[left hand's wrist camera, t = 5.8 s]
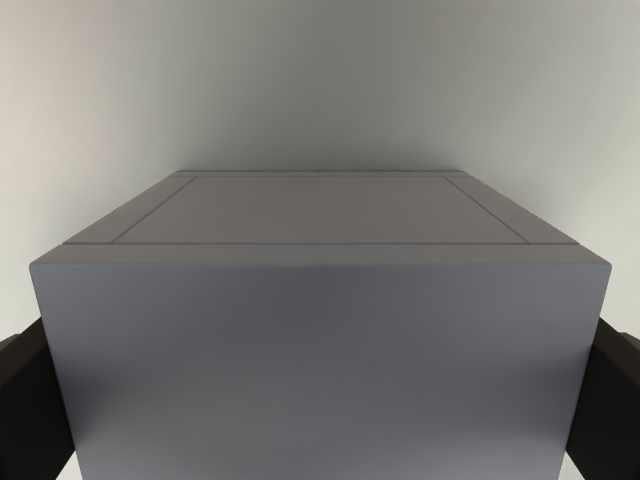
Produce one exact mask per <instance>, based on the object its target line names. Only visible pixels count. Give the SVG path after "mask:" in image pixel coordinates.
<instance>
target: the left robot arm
mask: <svg viewBox="0 0 640 480" xmlns="http://www.w3.org/2000/svg"><path fill="white" fill-rule="evenodd" d="M565 450H566V452H567V453H568V455H569V456H570V458H571V459H572V461H573V462H574V464H575V465H576V467H577V468H578V470H579V471H580V473H581V474H582V476H583V477H584V479H585V480H640V340H639V339H637V338H635V337H633V336H631V335H629V334H627V333H625V332H617V331H616V330H615V329H614V328H612V327H611V326H610V325H609V324H608V323H606V322H605V321H604V320H603V319H602V318H601V317H599V320H598V324H597V328H596V332H595V336H594V340H593V344H592V347H591V351H590V355H589V359H588V363H587V367H586V371H585V375H584V379H583V383H582V387H581V391H580V394H579V398H578V402H577V406H576V410H575V414H574V418H573V422H572V426H571V430H570V434H569V438H568V441H567V445H566V449H565ZM74 451H75V447H74V443H73V439H72V435H71V431H70V427H69V423H68V419H67V415H66V412H65V408H64V404H63V400H62V396H61V392H60V388H59V384H58V380H57V376H56V372H55V368H54V364H53V360H52V357H51V353H50V349H49V345H48V341H47V337H46V333H45V329H44V325H43V321H42V317H40V318H39V319H38V320H36V321H35V322H34V323H33V324H32V325H30V326H29V327H28V328H27V329H26V330H25V331H23V332H22V333H21V334H15V335H13V336H11V337H9V338H7V339H5V340H3V341H1V342H0V480H56V478H57V477H58V475H59V474H60V472H61V471H62V469H63V468H64V466H65V465H66V463H67V462H68V460H69V459H70V457H71V456H72V454H73V453H74Z"/></svg>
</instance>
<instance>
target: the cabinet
mask: <svg viewBox="0 0 640 480" xmlns="http://www.w3.org/2000/svg"><path fill="white" fill-rule="evenodd" d="M611 269H612V266H611V263H609V262H608V261H606V260H604V259H603V258H601V257H600V256H598V255H597V254H595V253H593V252H592V251H590V250H589V249H587V248H585V247H584V246H582V245H580V243H579V242H577V241H575V240H574V239H572V238H571V237H569V236H567V235H566V234H564V233H563V232H561V231H559V230H558V229H556V228H555V227H553V226H551V225H550V224H548V223H547V222H545V221H543V220H542V219H540V218H539V217H537V216H535V215H534V214H532V213H531V212H529V211H527V210H526V209H524V208H523V207H521V206H519V205H518V204H516V203H514V202H513V201H511V200H510V199H508V198H506V197H505V196H503V195H502V194H500V193H498V192H497V191H495V190H494V189H492V188H490V187H489V186H487V185H486V184H484V183H482V182H481V181H479V180H478V179H476V178H474V177H472V176H470V175H469V174H467V173H466V172H464V171H177V172H175V173H173V174H172V175H170V176H168V177H167V178H165V179H164V180H162V181H161V182H159V183H157V184H156V185H154V186H153V187H151V188H149V189H148V190H146V191H145V192H143V193H141V194H140V195H138V196H137V197H135V198H133V199H132V200H130V201H129V202H127V203H126V204H124V205H122V206H121V207H119V208H118V209H116V210H114V211H113V212H111V213H110V214H108V215H106V216H105V217H103V218H102V219H100V220H98V221H97V222H95V223H94V224H92V225H90V226H89V227H87V228H86V229H84V230H82V231H81V232H79V233H78V234H76V235H75V236H73V237H71V238H70V239H68V240H67V241H65V242H63V244H62V245H59V246H57V247H55V248H54V249H52V250H50V251H49V252H47V253H46V254H44V255H42V256H41V257H39V258H38V259H36V260H34V261H33V262H31V263H30V265H29V270H30V274H31V278H32V282H33V286H34V290H35V294H36V298H37V302H38V306H39V309H40V313H41V317H42V321H43V325H44V329H45V333H46V337H47V341H48V345H49V349H50V353H51V357H52V360H53V364H54V368H55V372H56V376H57V380H58V384H59V388H60V392H61V396H62V400H63V404H64V408H65V412H66V415H67V419H68V423H69V427H70V431H71V435H72V439H73V443H74V447H75V451H76V455H77V459H78V463H79V466H80V470H81V474H82V478H83V480H558V477H559V473H560V469H561V465H562V461H563V457H564V453H565V449H566V445H567V441H568V438H569V434H570V430H571V426H572V422H573V418H574V414H575V410H576V406H577V402H578V398H579V394H580V391H581V387H582V383H583V379H584V375H585V371H586V367H587V363H588V359H589V355H590V351H591V347H592V344H593V340H594V336H595V332H596V328H597V324H598V320H599V316H600V312H601V308H602V304H603V300H604V297H605V293H606V289H607V285H608V281H609V277H610V273H611Z"/></svg>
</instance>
